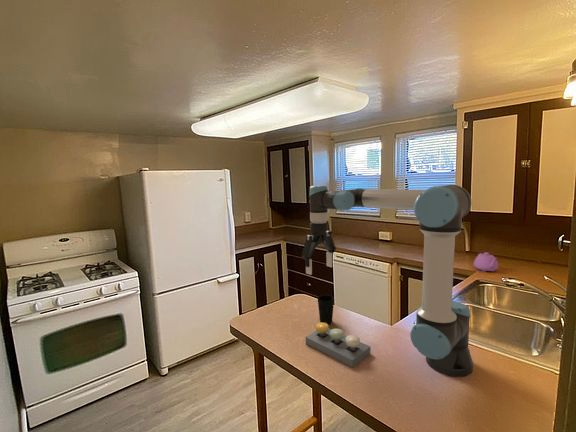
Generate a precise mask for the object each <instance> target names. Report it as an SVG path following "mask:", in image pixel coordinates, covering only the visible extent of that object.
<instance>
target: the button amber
mask: <svg viewBox="0 0 576 432" xmlns="http://www.w3.org/2000/svg"><path fill="white" fill-rule="evenodd" d="M329 326H330V325H328V324H327V323H320V322H318V323H316V324H315V331H317V332H319V335H320V336H321V337H324V336H325V332H328V330H329V329H330V328H329Z"/></svg>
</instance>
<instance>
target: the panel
mask: <svg viewBox="0 0 576 432" xmlns="http://www.w3.org/2000/svg"><path fill="white" fill-rule="evenodd" d="M331 330H332V328H329V330H328V332H325V336H324V337H321V336H320V335H319V332H317V331H316V330H315V331H314V332H312V333H309V334H308V335H306V336H305V344H306V345H307V346H309V347H312V348H313V349H315V350H317V351H319V352H321V353H322V354H325V355H326V356H329V357H330V358H332V359H335V360H336V361H339V363H343V364H345V365H346V366H348V367H350V368H354V367H356V366H357V365H358V364H359V363H361V361H363V360H364V359H366V358H367V357H368V356H370V355H371V350H372V349H371V346H370V345H368V344H366V343H364V342H361V341H360V345H359V346H357V347H356V351H351V350H350V346H348V345H347V344H346V337H347V336H348V335H345V334H343V338H342V339H340V343H338V344H336V343H334V339H333V338H331V337H330V331H331Z"/></svg>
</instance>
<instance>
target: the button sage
mask: <svg viewBox="0 0 576 432" xmlns="http://www.w3.org/2000/svg"><path fill="white" fill-rule="evenodd" d="M343 335H344V330H343V329H340V328H331V331H330V337H331V338H333V339H334V343H336V344H338V343H340V339H342V338H343Z"/></svg>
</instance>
